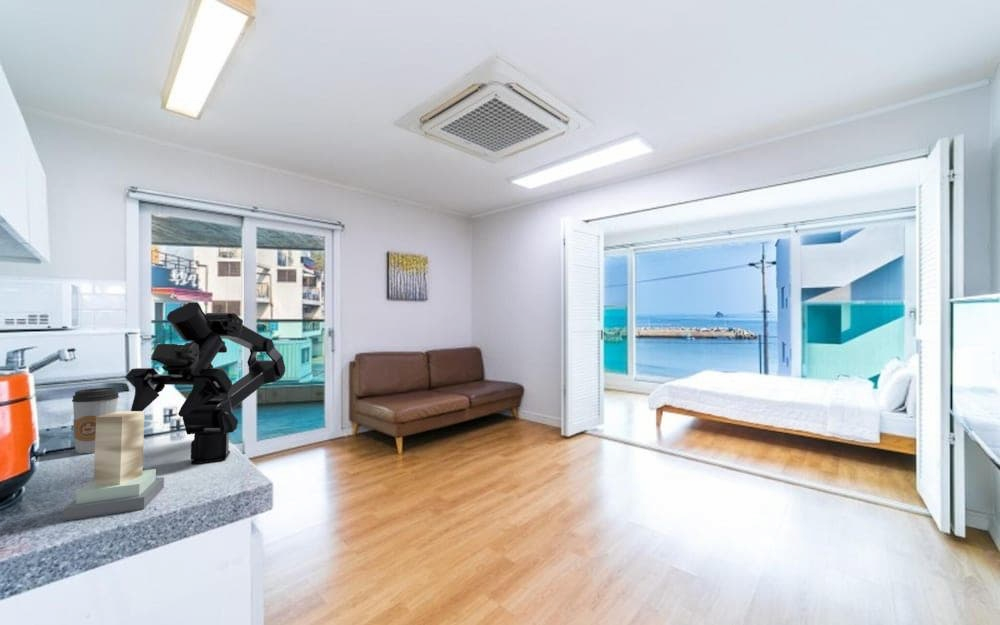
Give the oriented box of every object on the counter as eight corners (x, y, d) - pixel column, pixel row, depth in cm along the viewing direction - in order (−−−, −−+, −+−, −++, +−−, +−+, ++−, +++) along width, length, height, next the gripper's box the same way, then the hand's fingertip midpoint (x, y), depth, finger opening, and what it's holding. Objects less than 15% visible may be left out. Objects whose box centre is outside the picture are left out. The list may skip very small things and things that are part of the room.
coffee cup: (62, 457, 94) (65, 393, 95) (78, 448, 102) (81, 388, 102) (109, 452, 98) (111, 391, 99) (122, 443, 106) (124, 386, 106)
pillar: (117, 475, 73) (120, 411, 73) (142, 475, 73) (144, 411, 73) (93, 484, 68) (96, 416, 69) (119, 484, 68) (122, 416, 69)
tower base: (163, 487, 77) (164, 466, 77) (144, 508, 68) (144, 485, 68) (94, 496, 73) (95, 474, 73) (63, 520, 64) (64, 495, 64)
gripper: (134, 329, 84) (78, 391, 73) (224, 329, 84) (183, 391, 73) (164, 363, 92) (117, 424, 80) (246, 363, 92) (212, 424, 81)
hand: (156, 415), depth 78 cm, fingers open, 9 cm apart
